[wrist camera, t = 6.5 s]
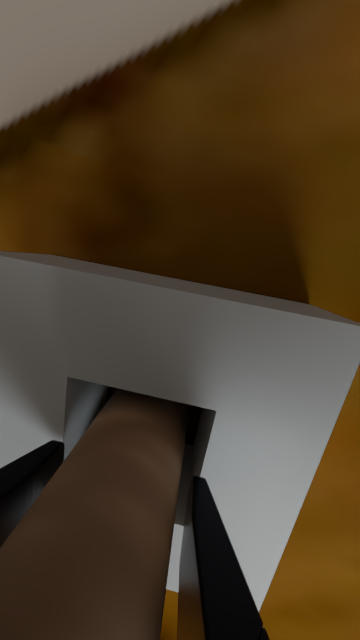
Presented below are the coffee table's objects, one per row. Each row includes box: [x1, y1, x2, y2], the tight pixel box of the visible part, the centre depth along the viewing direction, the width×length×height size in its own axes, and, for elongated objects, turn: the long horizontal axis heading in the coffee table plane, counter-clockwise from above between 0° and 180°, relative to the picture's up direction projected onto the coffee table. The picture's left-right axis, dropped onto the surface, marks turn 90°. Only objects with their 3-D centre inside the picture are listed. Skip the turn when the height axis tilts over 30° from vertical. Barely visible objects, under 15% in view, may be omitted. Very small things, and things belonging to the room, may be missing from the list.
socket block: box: [0, 251, 360, 612], centre depth 10 cm, size 12×12×4 cm
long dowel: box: [0, 388, 190, 640], centre depth 8 cm, size 4×4×9 cm
